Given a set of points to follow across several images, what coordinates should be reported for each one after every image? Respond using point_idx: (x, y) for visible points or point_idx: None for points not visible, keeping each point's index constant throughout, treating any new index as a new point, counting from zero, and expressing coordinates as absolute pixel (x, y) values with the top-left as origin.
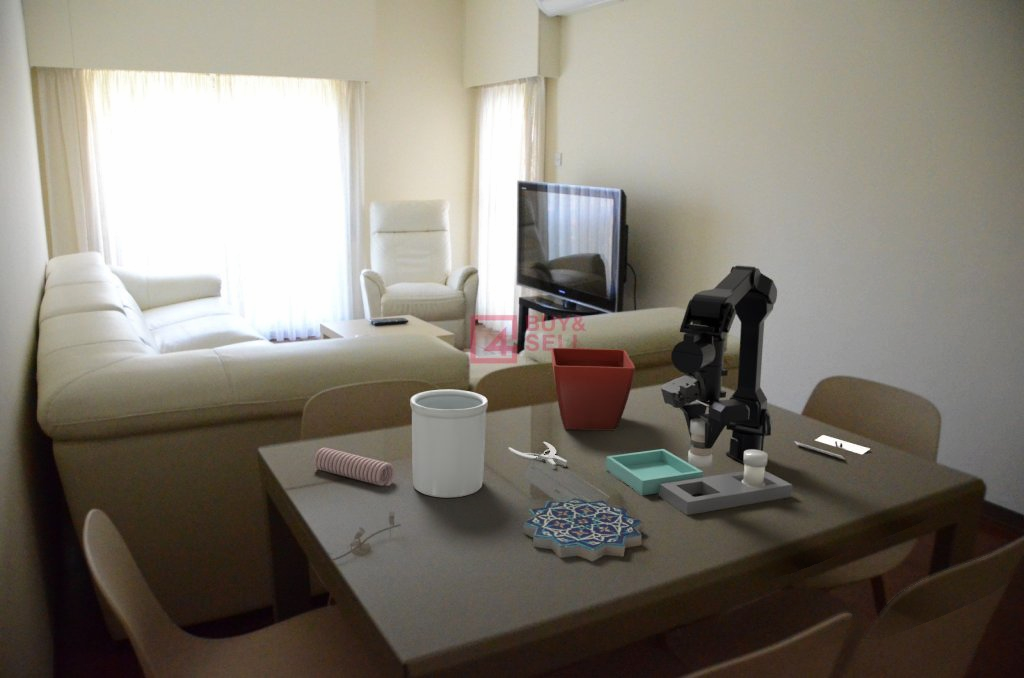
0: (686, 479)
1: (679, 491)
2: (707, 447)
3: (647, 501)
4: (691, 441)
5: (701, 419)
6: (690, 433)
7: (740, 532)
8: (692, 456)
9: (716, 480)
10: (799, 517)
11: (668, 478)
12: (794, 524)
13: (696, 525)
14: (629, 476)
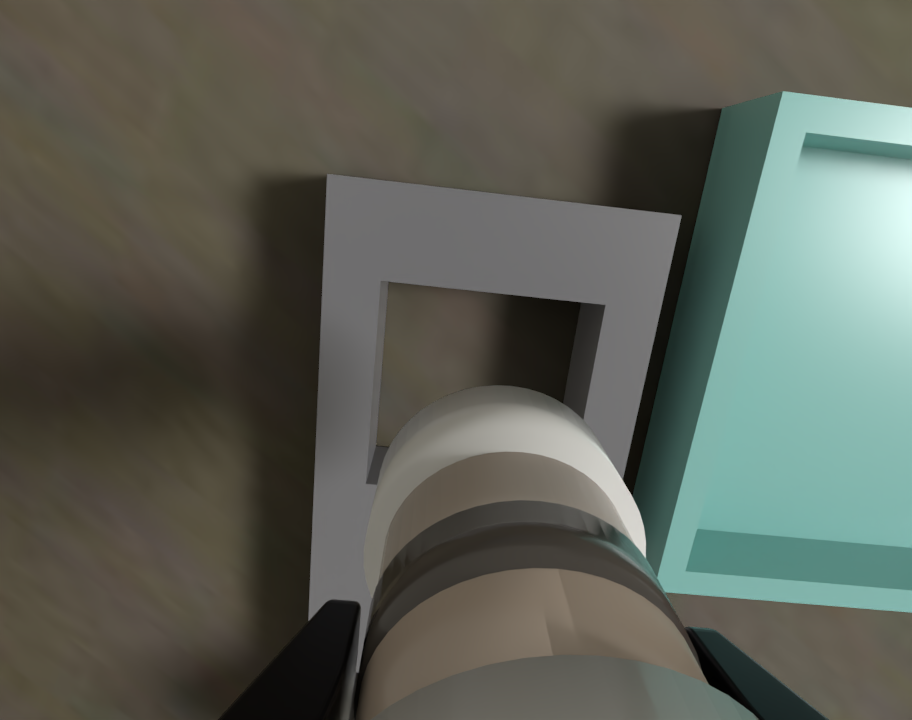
0: (667, 460)
1: (506, 253)
2: (317, 614)
3: (630, 80)
4: (587, 549)
5: None
6: (779, 708)
7: (37, 299)
8: (487, 424)
9: None
10: (110, 667)
11: (714, 333)
12: (48, 599)
13: (198, 125)
14: None
